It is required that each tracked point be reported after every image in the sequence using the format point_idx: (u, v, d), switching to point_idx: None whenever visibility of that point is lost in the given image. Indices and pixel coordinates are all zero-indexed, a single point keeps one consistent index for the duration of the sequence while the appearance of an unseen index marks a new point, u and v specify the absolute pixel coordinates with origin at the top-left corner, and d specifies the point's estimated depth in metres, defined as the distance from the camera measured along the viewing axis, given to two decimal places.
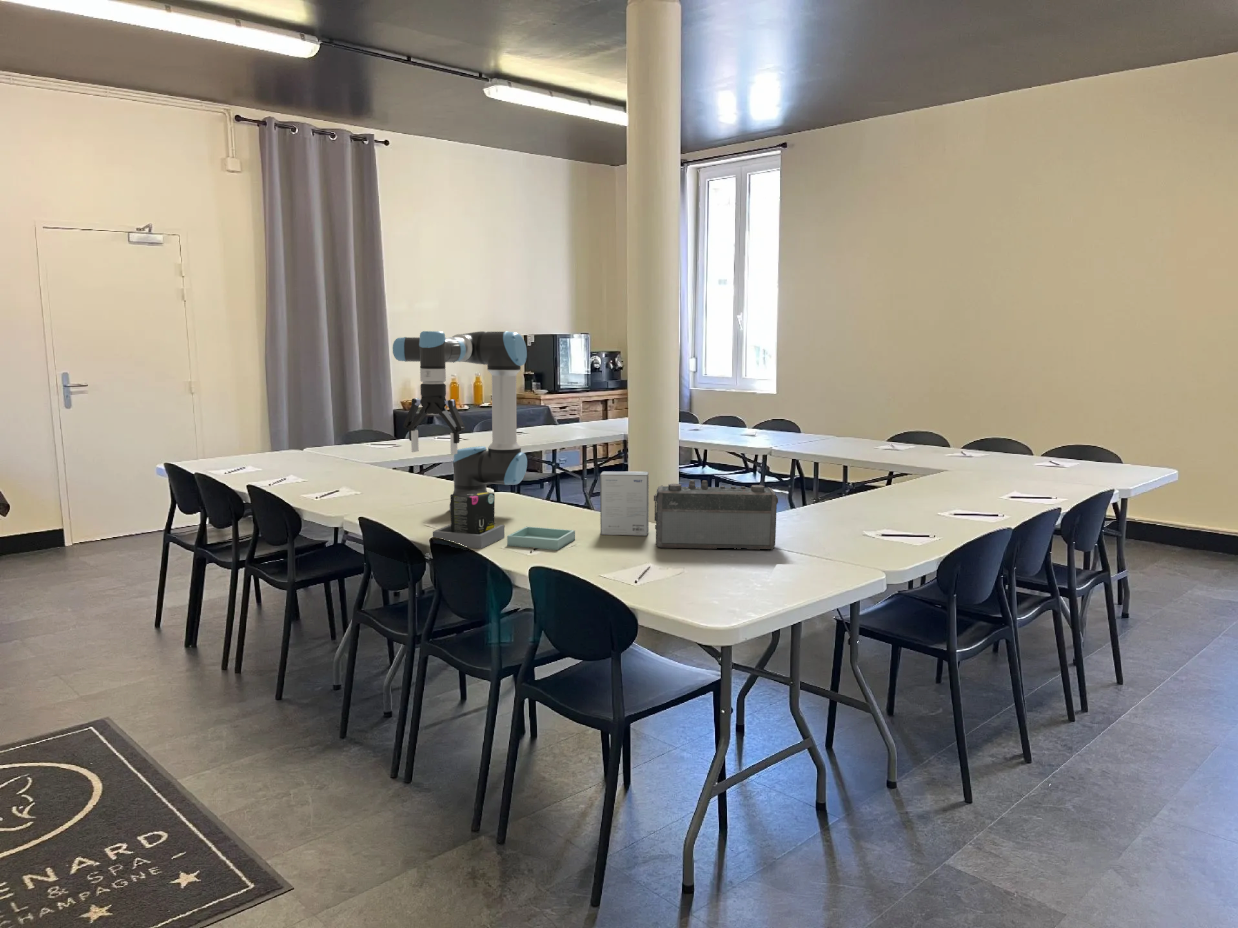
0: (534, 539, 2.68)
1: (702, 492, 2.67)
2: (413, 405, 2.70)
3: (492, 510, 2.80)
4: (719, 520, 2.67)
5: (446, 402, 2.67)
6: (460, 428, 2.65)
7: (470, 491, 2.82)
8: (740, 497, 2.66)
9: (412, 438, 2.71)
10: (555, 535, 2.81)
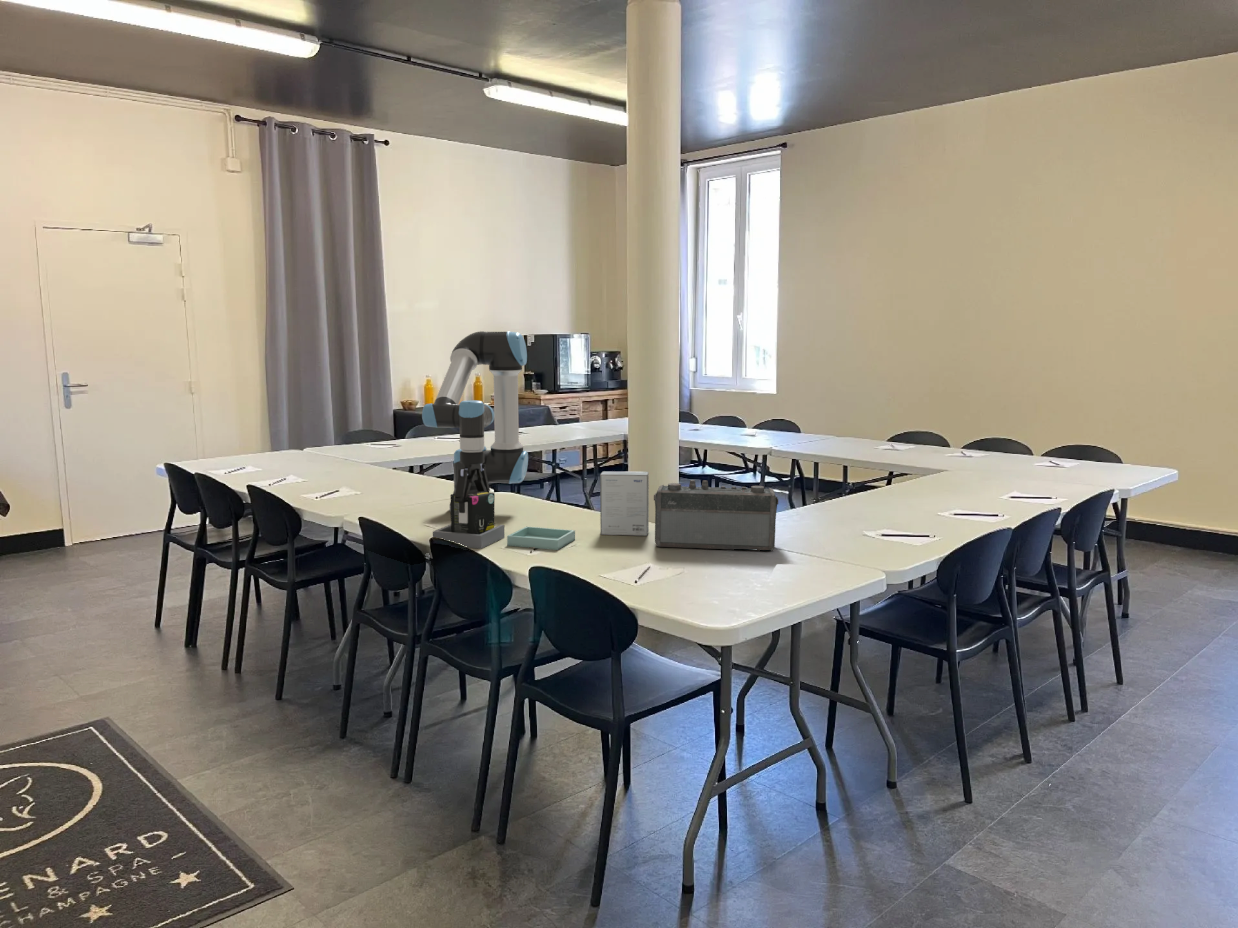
0: (534, 539, 2.68)
1: (701, 492, 2.68)
2: None
3: (492, 510, 2.80)
4: (717, 520, 2.67)
5: None
6: None
7: (470, 491, 2.82)
8: (739, 498, 2.65)
9: None
10: (555, 535, 2.81)
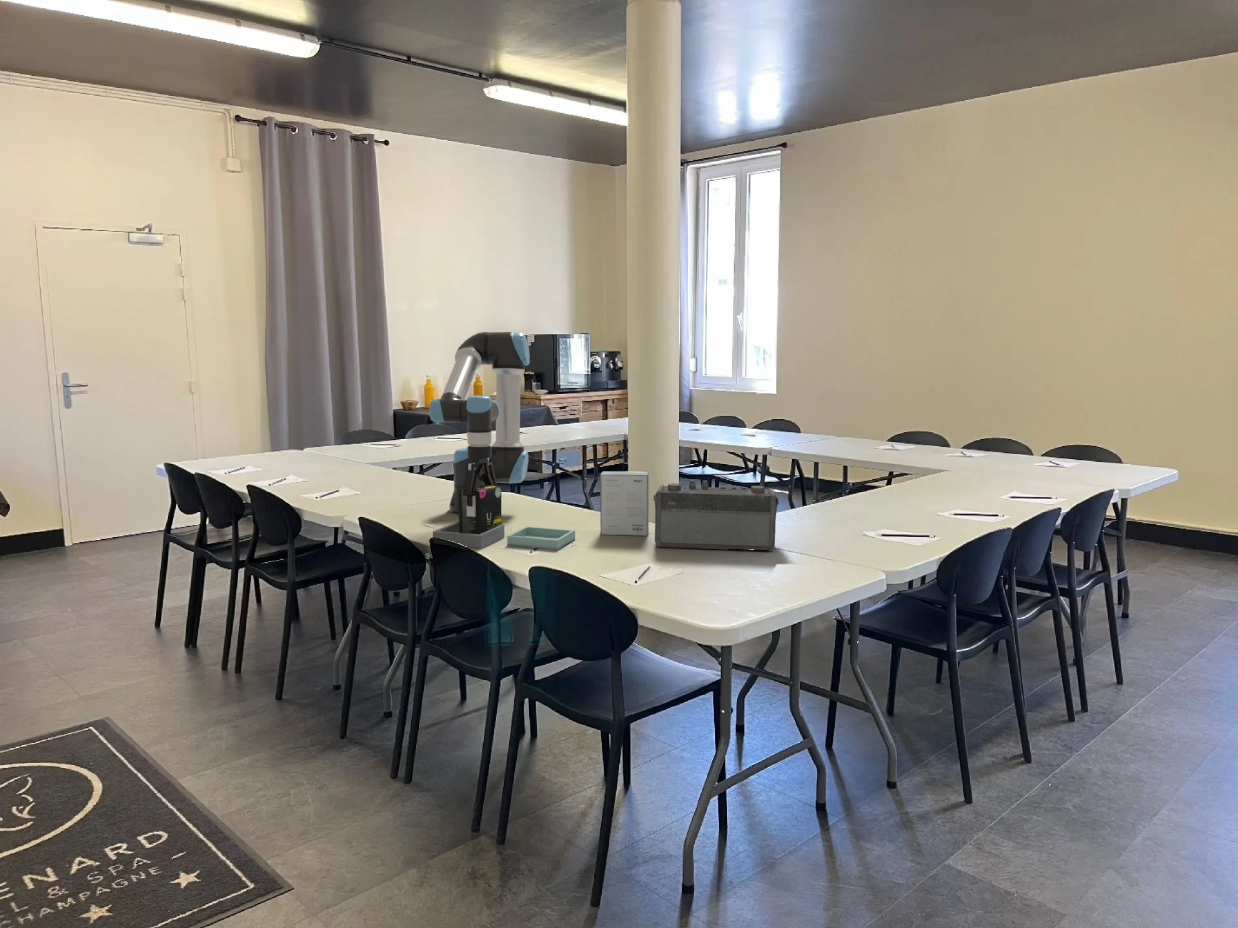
0: (534, 539, 2.68)
1: (701, 492, 2.67)
2: None
3: (499, 504, 2.85)
4: (717, 520, 2.67)
5: None
6: (462, 492, 2.74)
7: (477, 485, 2.87)
8: (739, 498, 2.65)
9: None
10: (555, 535, 2.81)
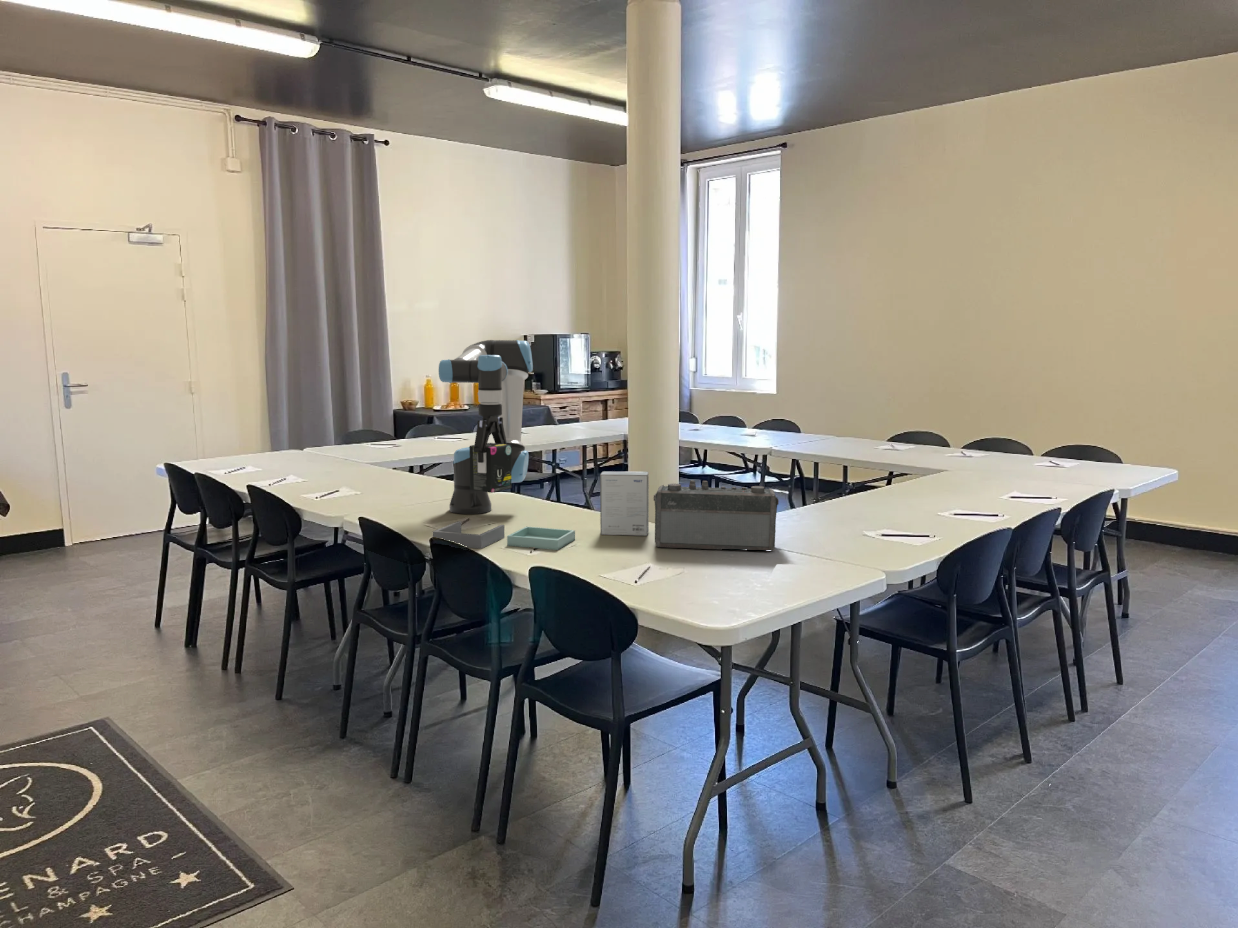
0: (534, 539, 2.68)
1: (701, 492, 2.67)
2: None
3: (509, 461, 2.90)
4: (717, 520, 2.66)
5: None
6: (474, 448, 2.80)
7: (488, 443, 2.92)
8: (739, 498, 2.65)
9: None
10: (555, 535, 2.81)
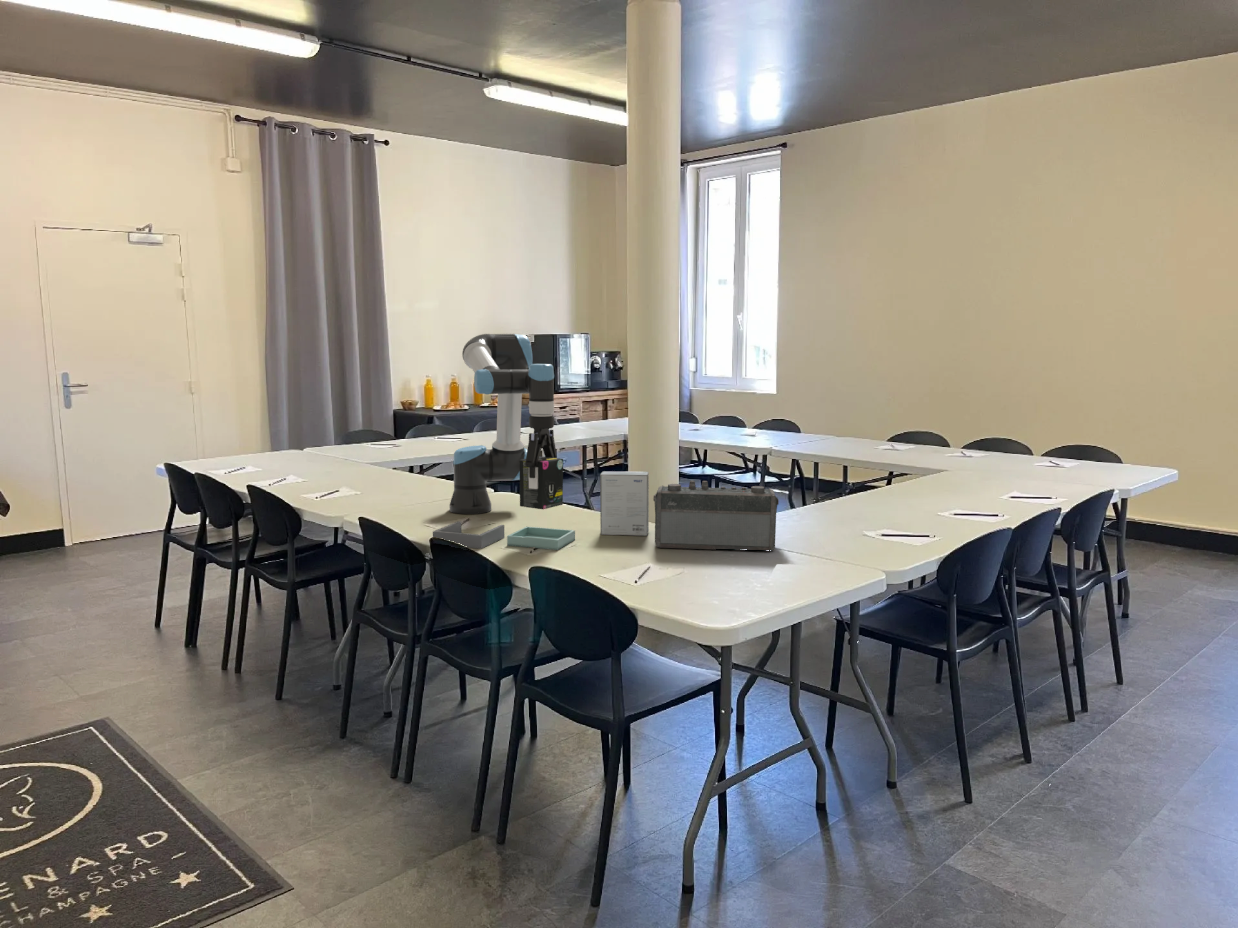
0: (534, 539, 2.68)
1: (701, 492, 2.67)
2: None
3: (561, 476, 2.74)
4: (717, 520, 2.66)
5: None
6: None
7: None
8: (739, 498, 2.65)
9: None
10: (555, 535, 2.81)
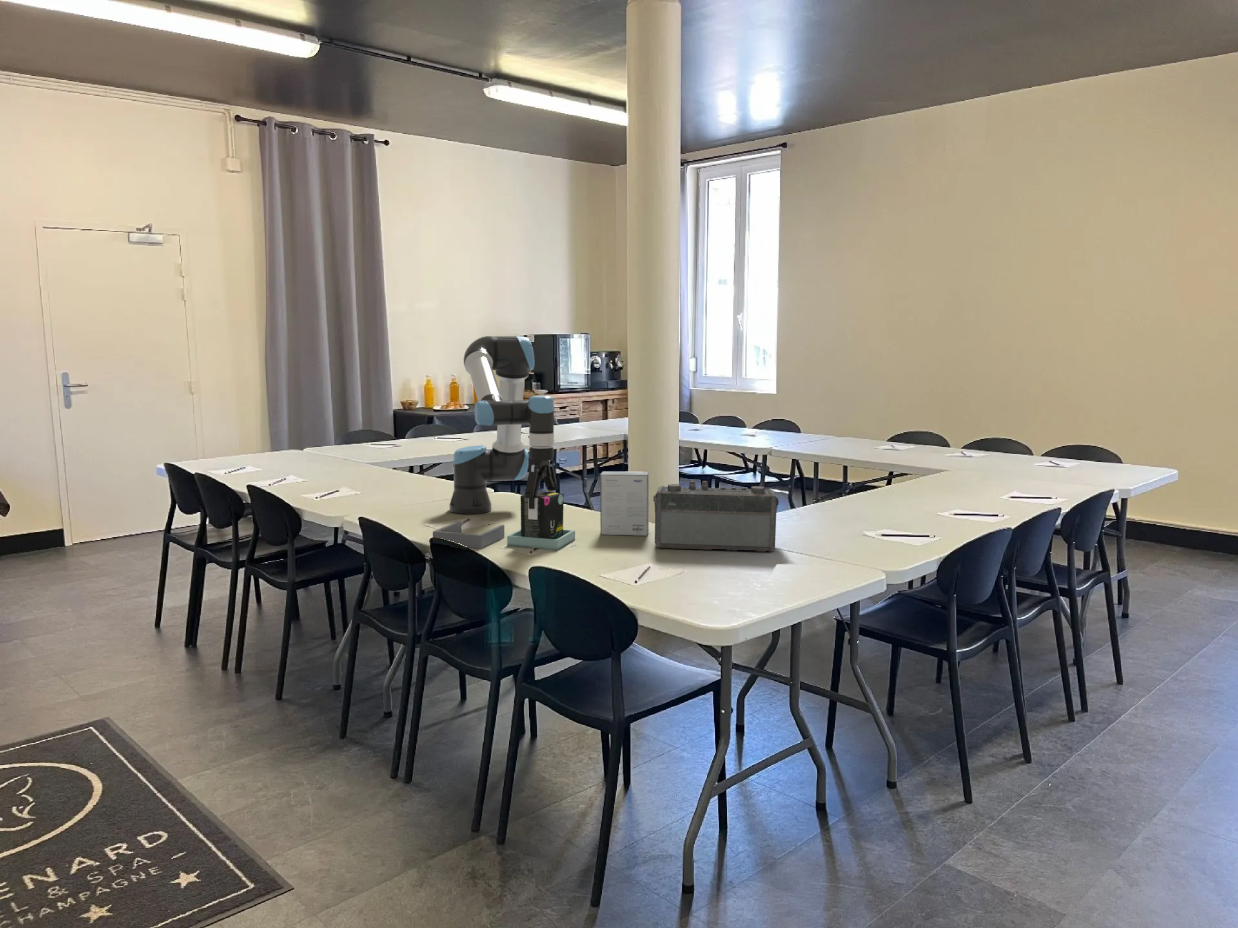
0: (534, 539, 2.68)
1: (701, 493, 2.66)
2: None
3: (561, 511, 2.76)
4: (717, 521, 2.66)
5: None
6: (525, 494, 2.65)
7: (538, 492, 2.78)
8: (739, 499, 2.64)
9: None
10: None
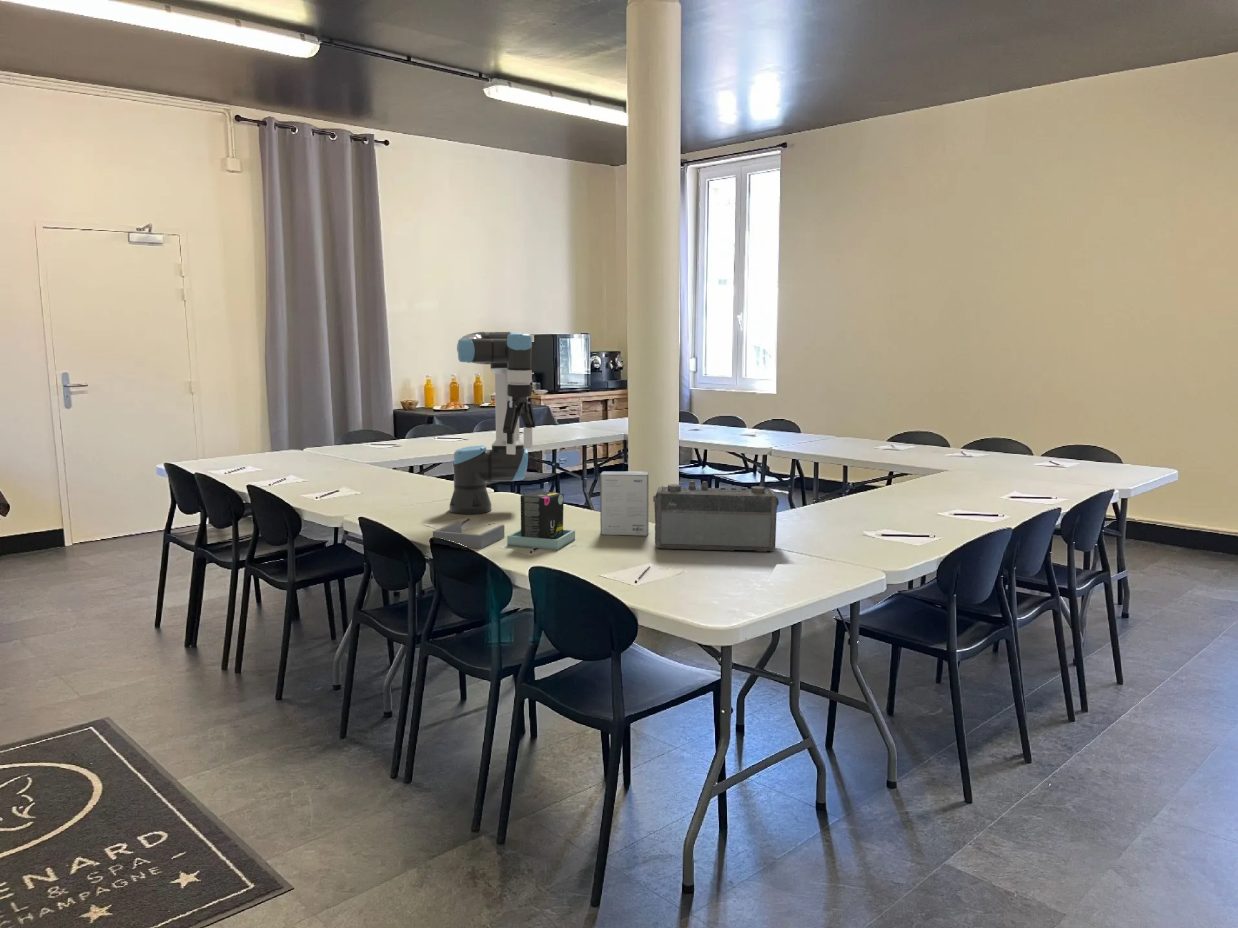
0: (534, 539, 2.68)
1: (701, 493, 2.66)
2: None
3: (561, 511, 2.76)
4: (718, 521, 2.66)
5: None
6: (503, 429, 2.70)
7: (538, 492, 2.78)
8: (739, 499, 2.64)
9: None
10: None
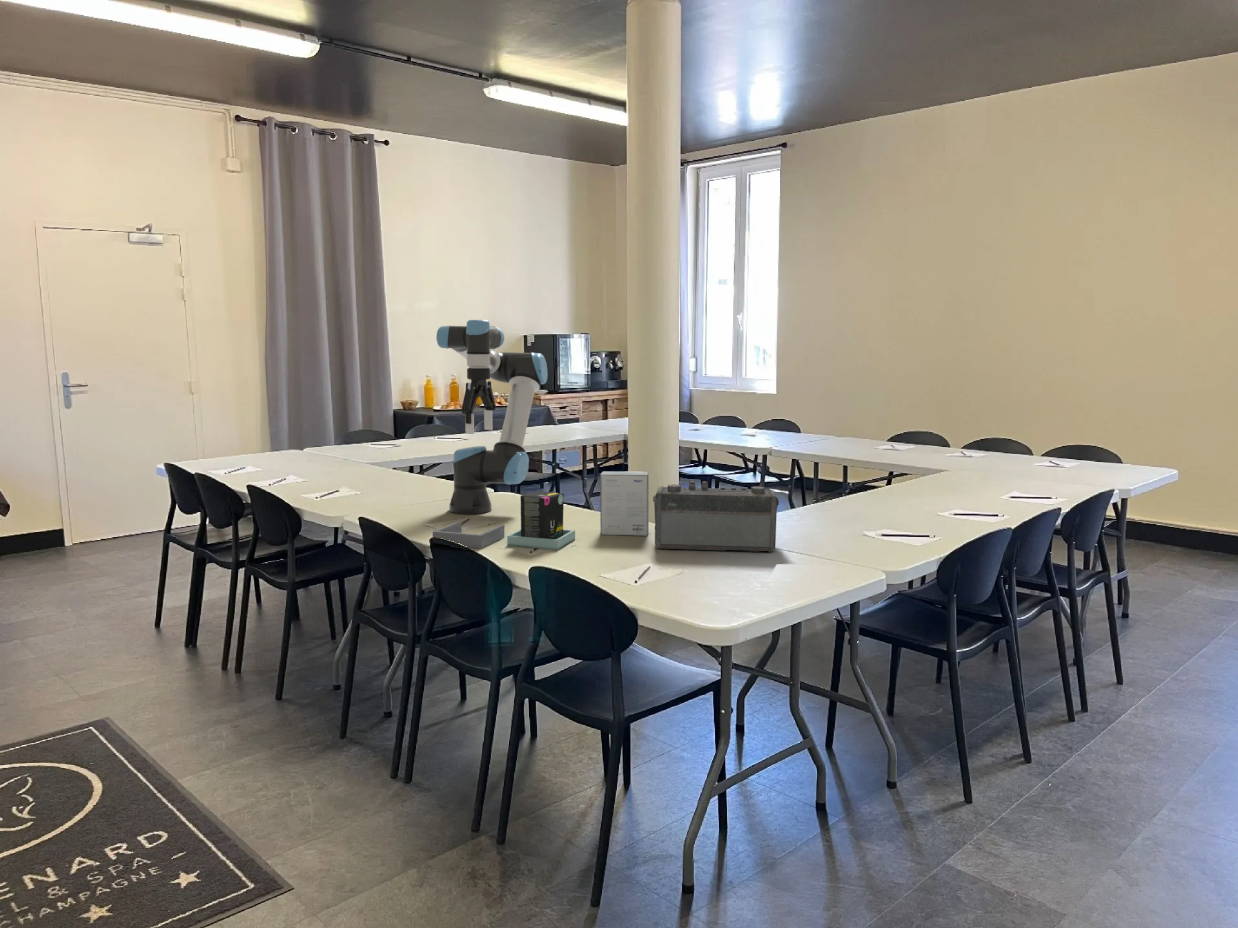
0: (534, 539, 2.68)
1: (701, 493, 2.66)
2: None
3: (561, 511, 2.76)
4: (718, 521, 2.65)
5: None
6: None
7: (538, 492, 2.78)
8: (739, 499, 2.64)
9: None
10: None
